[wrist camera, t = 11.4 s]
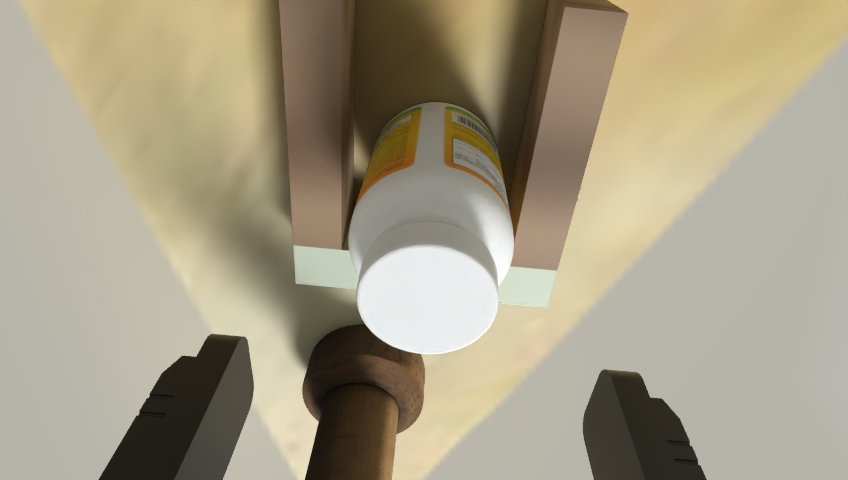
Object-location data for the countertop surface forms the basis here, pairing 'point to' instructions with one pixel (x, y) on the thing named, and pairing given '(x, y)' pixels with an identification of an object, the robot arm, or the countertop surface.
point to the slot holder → (537, 158)
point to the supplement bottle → (431, 231)
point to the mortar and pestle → (360, 403)
